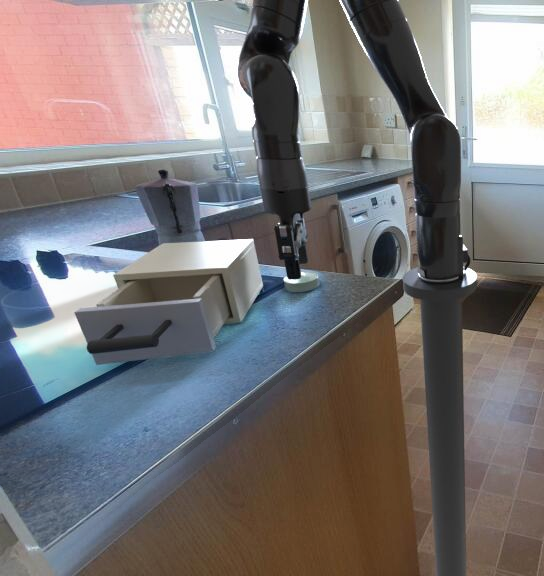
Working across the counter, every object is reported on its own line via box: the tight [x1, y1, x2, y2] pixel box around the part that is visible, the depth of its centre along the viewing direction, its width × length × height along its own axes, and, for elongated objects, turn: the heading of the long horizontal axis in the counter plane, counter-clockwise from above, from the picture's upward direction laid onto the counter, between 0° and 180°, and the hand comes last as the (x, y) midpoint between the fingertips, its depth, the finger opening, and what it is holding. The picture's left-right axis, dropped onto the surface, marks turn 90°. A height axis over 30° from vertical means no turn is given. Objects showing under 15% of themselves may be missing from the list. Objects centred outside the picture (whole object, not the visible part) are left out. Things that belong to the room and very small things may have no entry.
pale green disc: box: [283, 271, 321, 293], centre depth 78 cm, size 6×6×2 cm
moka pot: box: [133, 169, 206, 246], centre depth 81 cm, size 10×15×20 cm, turn 44°
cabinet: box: [112, 238, 264, 325], centre depth 68 cm, size 16×14×9 cm
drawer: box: [73, 273, 232, 366], centre depth 55 cm, size 20×13×7 cm, turn 18°
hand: (298, 270), depth 78 cm, fingers open, 8 cm apart
